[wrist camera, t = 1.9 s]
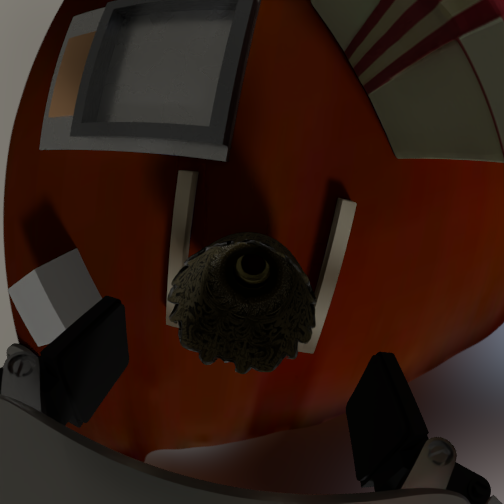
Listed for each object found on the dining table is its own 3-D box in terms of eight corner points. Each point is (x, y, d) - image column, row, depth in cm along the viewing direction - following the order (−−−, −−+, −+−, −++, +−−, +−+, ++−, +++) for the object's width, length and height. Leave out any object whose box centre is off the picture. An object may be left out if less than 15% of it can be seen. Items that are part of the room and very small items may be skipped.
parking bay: (311, 343, 22) (313, 353, 21) (171, 315, 23) (165, 324, 21) (351, 200, 19) (356, 203, 17) (185, 170, 19) (178, 170, 18)
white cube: (71, 318, 25) (38, 346, 19) (45, 268, 23) (7, 289, 17) (106, 304, 23) (70, 337, 18) (77, 247, 22) (34, 269, 16)
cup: (318, 233, 20) (343, 273, 12) (284, 319, 22) (285, 388, 14) (219, 200, 20) (182, 221, 12) (194, 290, 22) (157, 348, 14)
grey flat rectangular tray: (228, 161, 19) (219, 160, 16) (46, 149, 19) (24, 150, 17) (261, 0, 15) (258, -20, 12) (79, 19, 15) (62, 10, 12)
